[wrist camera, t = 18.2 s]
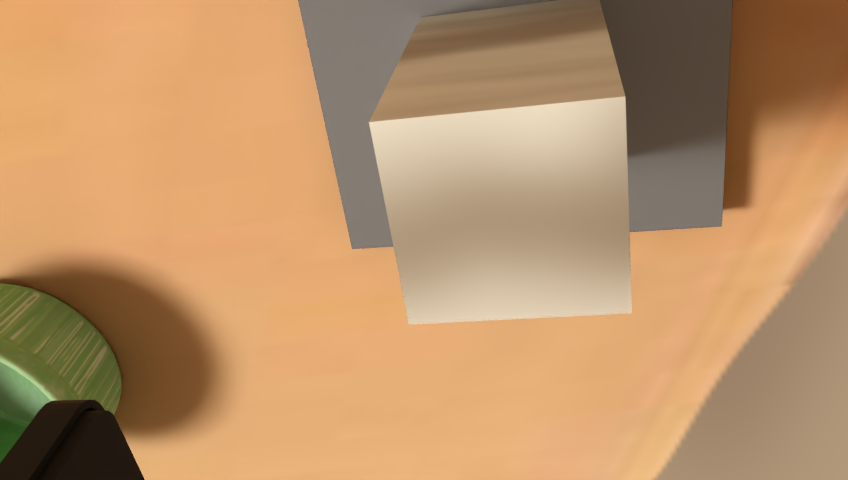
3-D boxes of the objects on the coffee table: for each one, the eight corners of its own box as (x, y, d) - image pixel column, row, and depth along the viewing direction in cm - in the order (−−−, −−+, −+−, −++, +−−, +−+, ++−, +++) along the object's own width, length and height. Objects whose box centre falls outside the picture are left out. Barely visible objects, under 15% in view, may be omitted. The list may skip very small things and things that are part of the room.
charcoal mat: (295, -65, 23) (285, -58, 22) (729, -124, 21) (737, -120, 20) (357, 234, 28) (352, 249, 27) (715, 211, 26) (721, 226, 25)
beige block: (420, 17, 23) (368, 122, 16) (598, -5, 22) (625, 96, 15) (444, 174, 25) (409, 324, 18) (605, 160, 24) (631, 312, 17)
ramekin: (181, 390, 33) (134, 469, 29) (45, 463, 36) (-12, 543, 33) (18, 229, 30) (-57, 295, 26) (-114, 326, 33) (-197, 397, 29)
